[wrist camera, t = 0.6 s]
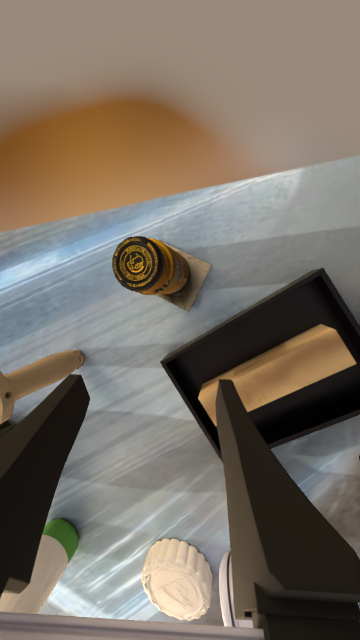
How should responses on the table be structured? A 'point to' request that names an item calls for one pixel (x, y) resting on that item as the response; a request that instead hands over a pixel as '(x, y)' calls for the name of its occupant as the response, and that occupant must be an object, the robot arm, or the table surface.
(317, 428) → the black tray
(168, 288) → the condiment
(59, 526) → the wine bottle
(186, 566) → the mooncake
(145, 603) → the table surface
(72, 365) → the handle
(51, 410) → the robot arm
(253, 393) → the stick
